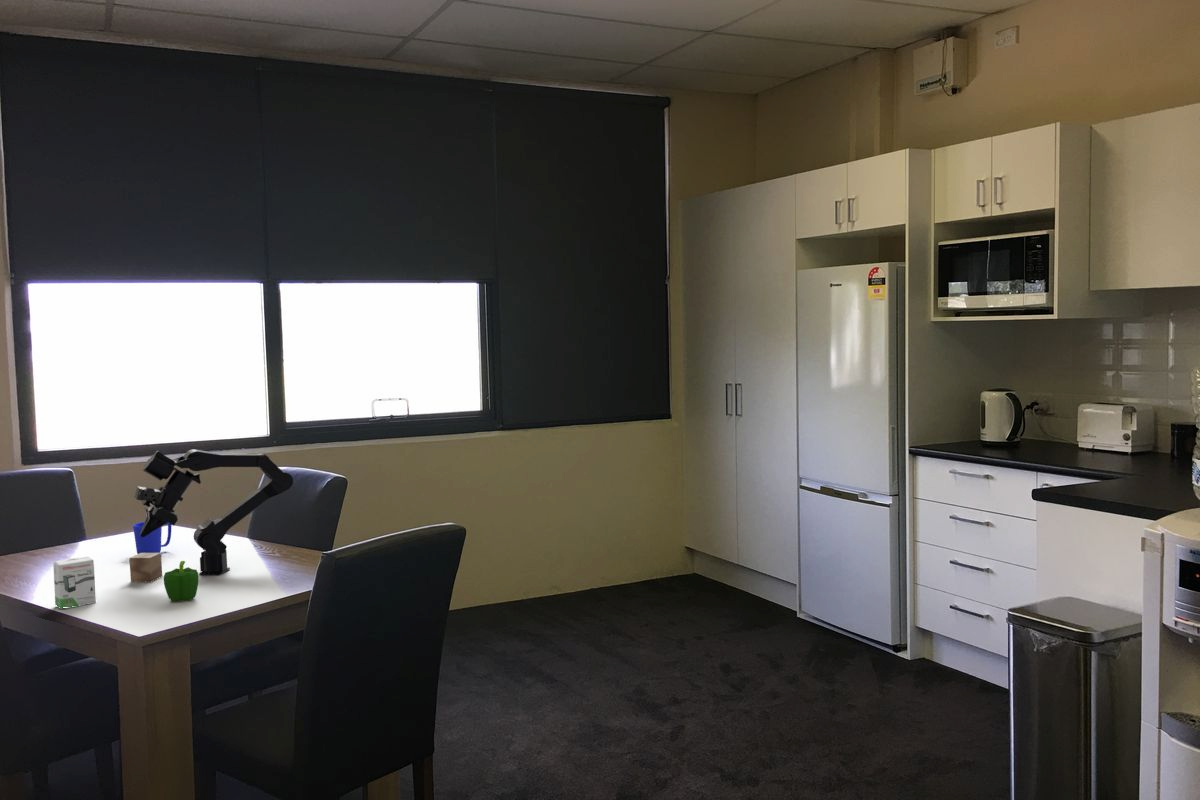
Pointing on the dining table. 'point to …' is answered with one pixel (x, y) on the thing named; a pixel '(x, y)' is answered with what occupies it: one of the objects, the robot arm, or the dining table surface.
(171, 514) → the robot arm
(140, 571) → the walnut block
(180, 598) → the bell pepper
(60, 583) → the ink box
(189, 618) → the dining table surface
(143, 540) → the mug
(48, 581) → the dining table surface
